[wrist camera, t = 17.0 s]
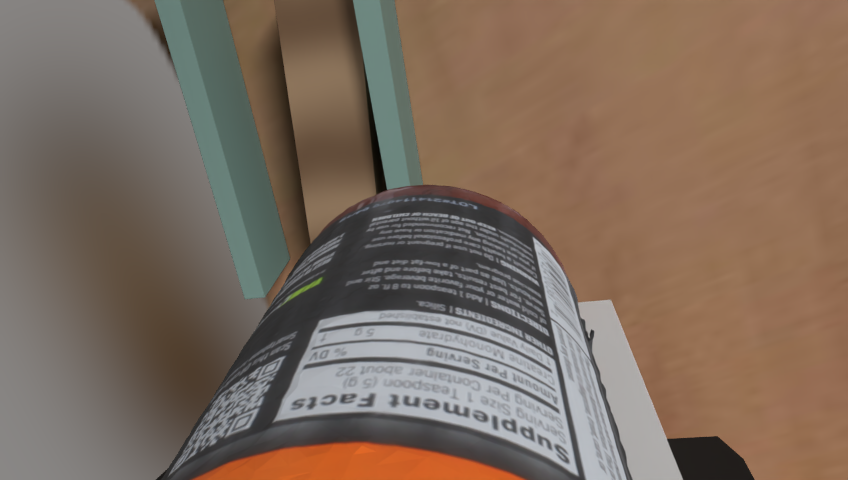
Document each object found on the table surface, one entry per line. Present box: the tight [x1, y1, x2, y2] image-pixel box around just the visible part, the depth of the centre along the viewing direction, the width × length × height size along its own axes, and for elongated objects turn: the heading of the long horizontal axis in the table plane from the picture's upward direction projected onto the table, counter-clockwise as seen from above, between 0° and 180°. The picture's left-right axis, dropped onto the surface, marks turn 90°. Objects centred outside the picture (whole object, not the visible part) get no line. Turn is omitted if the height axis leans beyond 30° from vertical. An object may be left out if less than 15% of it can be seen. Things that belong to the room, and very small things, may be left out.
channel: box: [155, 0, 423, 299], centre depth 32 cm, size 18×10×5 cm, turn 8°
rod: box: [274, 0, 387, 243], centre depth 33 cm, size 16×4×4 cm, turn 4°
